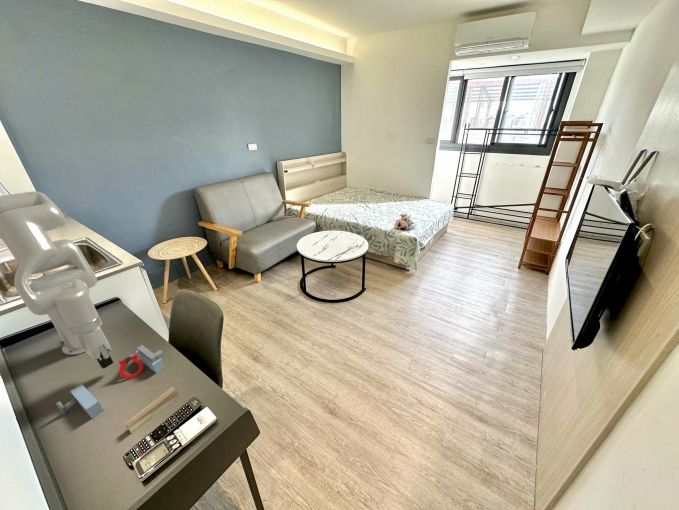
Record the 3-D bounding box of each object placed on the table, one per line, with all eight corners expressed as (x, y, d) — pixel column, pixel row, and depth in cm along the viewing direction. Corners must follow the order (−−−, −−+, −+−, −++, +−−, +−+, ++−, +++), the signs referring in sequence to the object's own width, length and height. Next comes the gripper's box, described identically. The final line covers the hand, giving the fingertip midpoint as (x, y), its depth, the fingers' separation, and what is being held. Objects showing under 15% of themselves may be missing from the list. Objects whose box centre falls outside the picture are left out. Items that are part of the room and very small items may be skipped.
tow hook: (122, 382, 93) (115, 362, 93) (126, 376, 102) (120, 358, 102) (145, 372, 97) (139, 352, 97) (147, 367, 105) (141, 349, 106)
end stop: (128, 429, 79) (124, 423, 78) (174, 392, 90) (172, 386, 89) (131, 433, 79) (128, 427, 77) (178, 395, 89) (176, 389, 88)
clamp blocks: (59, 410, 85) (50, 397, 82) (151, 352, 106) (146, 340, 103) (75, 430, 79) (66, 417, 76) (169, 365, 100) (164, 352, 98)
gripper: (61, 323, 88) (85, 363, 96) (80, 339, 81) (104, 382, 89) (89, 310, 94) (109, 349, 102) (110, 325, 87) (129, 366, 95)
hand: (107, 364), depth 96 cm, fingers closed
